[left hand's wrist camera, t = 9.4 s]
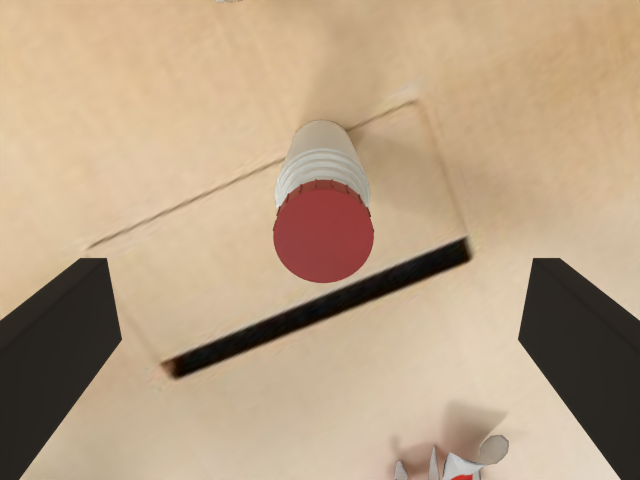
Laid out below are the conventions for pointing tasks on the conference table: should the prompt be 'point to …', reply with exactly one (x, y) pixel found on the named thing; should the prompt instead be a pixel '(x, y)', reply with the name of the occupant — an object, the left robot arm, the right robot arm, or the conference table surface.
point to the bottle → (321, 161)
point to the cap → (323, 231)
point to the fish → (463, 462)
